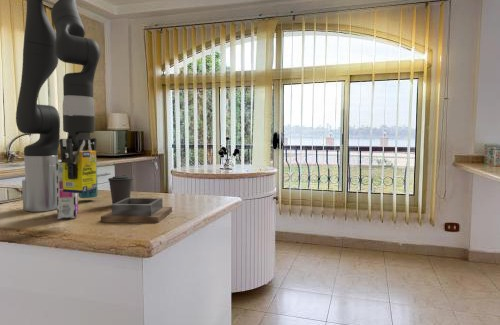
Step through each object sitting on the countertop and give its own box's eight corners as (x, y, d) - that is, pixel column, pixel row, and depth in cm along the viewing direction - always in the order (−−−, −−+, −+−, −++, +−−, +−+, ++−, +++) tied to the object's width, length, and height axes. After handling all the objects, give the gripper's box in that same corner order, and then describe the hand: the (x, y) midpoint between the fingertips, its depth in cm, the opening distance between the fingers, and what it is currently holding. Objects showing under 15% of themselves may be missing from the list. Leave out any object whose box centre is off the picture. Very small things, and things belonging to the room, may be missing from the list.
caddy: (100, 221, 95) (100, 205, 94) (121, 210, 109) (121, 196, 108) (158, 222, 94) (158, 206, 94) (171, 211, 108) (171, 197, 108)
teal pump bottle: (85, 198, 129) (83, 145, 128) (102, 199, 128) (100, 145, 127) (74, 202, 123) (72, 146, 121) (91, 202, 122) (90, 146, 120)
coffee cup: (133, 202, 123) (133, 174, 122) (133, 206, 115) (133, 177, 115) (109, 203, 120) (108, 175, 120) (107, 208, 113) (106, 177, 112)
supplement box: (82, 193, 89) (81, 151, 88) (62, 192, 90) (61, 150, 89) (97, 190, 95) (96, 150, 94) (78, 188, 96) (77, 149, 95)
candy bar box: (77, 218, 98) (75, 161, 97) (57, 220, 96) (55, 161, 95) (79, 211, 108) (77, 158, 107) (61, 212, 106) (59, 159, 105)
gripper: (79, 115, 98) (80, 173, 99) (47, 112, 84) (49, 180, 85) (105, 116, 98) (106, 174, 99) (77, 113, 83) (79, 181, 85)
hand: (80, 177), depth 92 cm, fingers closed on supplement box, 6 cm apart
